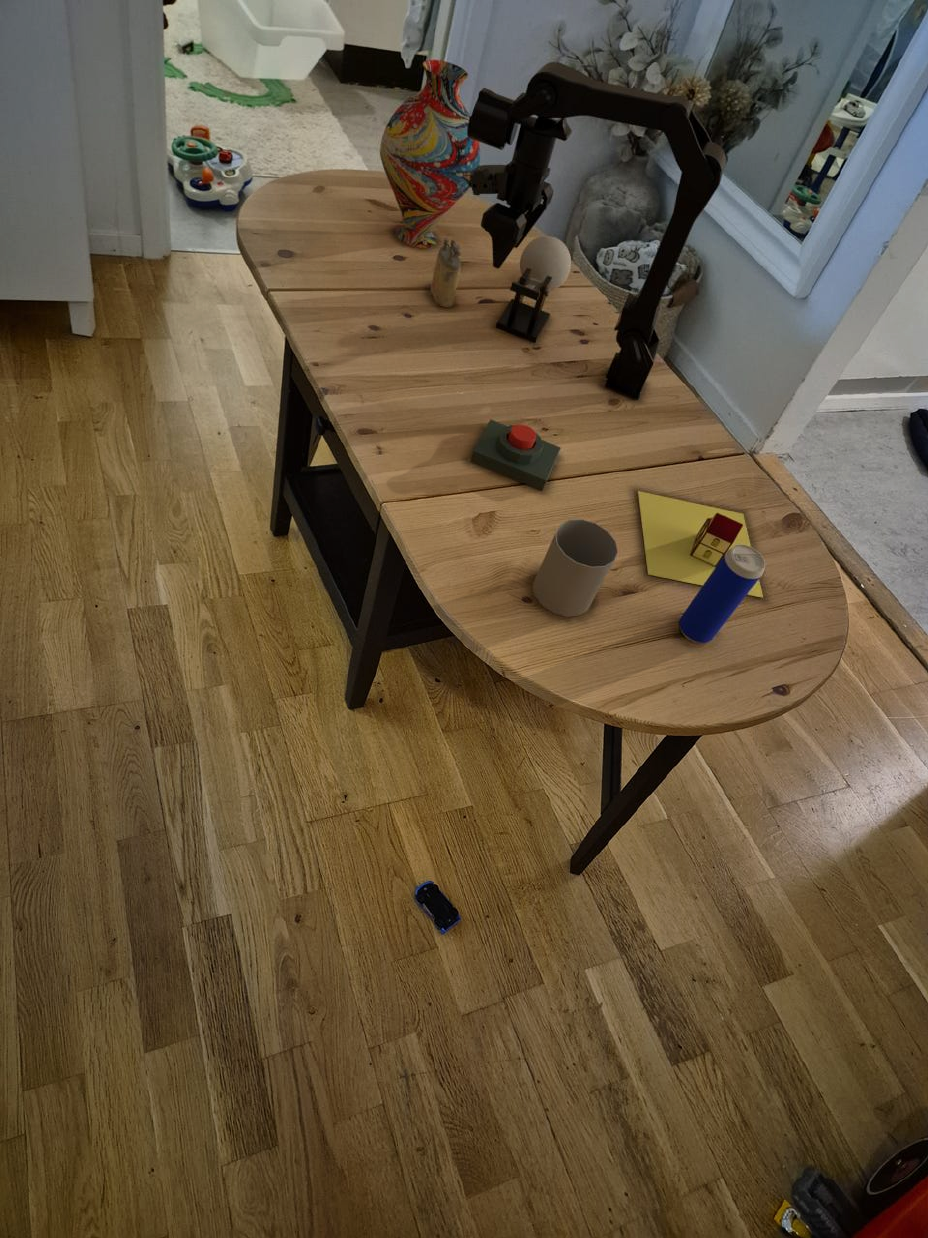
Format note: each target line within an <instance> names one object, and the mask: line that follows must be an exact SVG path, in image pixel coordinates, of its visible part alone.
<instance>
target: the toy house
mask: <svg viewBox="0 0 928 1238" xmlns="http://www.w3.org/2000/svg"><path fill="white" fill-rule="evenodd" d="M743 527H744V524H743V523H741V522H739V521H737V520H735V519H732V518H730V517H728V516H726V515H724V514H721V513H719V512H716V513H715V514H714V515H713V516H712V517H707V518H706V520H705V521H704V523H703V524H702V526H701V527H700V529H699V530H698V532H697V534H696V535H697V536H696V539H695V540H694V543H693V548H692V550H691V552H690V555H691V556H693V557H695V558H696V559H699V560H702V561H703V562H705V563H708V564H709V565H712V566H715V567H716V566H717V565H718V563H719V562H720V560H721V559H722V557H723V556H724V555H725V553H726V552H727V551H728V550H729V549H731V548H732V545H733V544H734V542H735V541H736V539H737V537H738V535H739V534H740V532H741V530H742V528H743Z"/></svg>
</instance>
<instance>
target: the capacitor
mask: <svg viewBox="0 0 928 1238" xmlns="http://www.w3.org/2000/svg"><path fill="white" fill-rule="evenodd" d="M449 241H450V244H449ZM461 254H462V253H461V246H460V244H457V241H456V240H455V239H452V240H449V238H447V237H446V238H444V240H443V246H440V247H439V250H438V253H437V256H436V261H435V265H434V269H433V270H434V271H433V275H432V280H431V285H430V287H429V290H430V292H431V294H430V296H431V298H433V299H434V302H435V303H436V305H438V306H441V307H444V308H450V307H452V306H453V305H454V301H455V297H456V293H457V289H458V283H459V280H460V279H459V278H460V275H461V271H462V269H461V267H462V261H461V259H460V256H461Z"/></svg>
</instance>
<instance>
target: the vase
mask: <svg viewBox="0 0 928 1238" xmlns="http://www.w3.org/2000/svg"><path fill="white" fill-rule="evenodd" d="M422 66H423V69H424V73H425V75H426V80H425V84H424V86H423V87H422V89H420V90H419V91H418V92H416V93H415V94H413V95H412V96H410V97H408V98H407V99H406V100H405V101H403V102H402V103H401V104H400V106H398V108H396V110H395V111H394V112H393V114H392V115H391V116H390V118H389V120H388V122H387V124H386V126H385V128H384V131H383V133H382V136H381V141H380V146H379V157H380V160H381V164H382V168H383V170H384V173H385V175H386V178H387V181H388V183H389V185H390V188H391V190H392V193H393V195H394V198H395V201H396V202H397V206H398V208H399V211H400V214H401V219H402V226H399V227H398V228H397V229H396V230H395V235H396V238H398V240H400V241H401V242H403V243H404V244H406V245H408V246H411V247H415V248H420V249H421V248H422V249H426V248H431V247H434V246H435V245H437V237H436V236H435V235H434V233H433V230H434V229H435V227H436V225H437V224H438V222H440V220H441V219H442V218H443V217H444V216H445V215H446V214H447V213H448V212H449V211H450V210H451V209H452V207H453V206H455V204H456V203H458V201H459V200H460V199H462V197H464V195H466V193H467V192H468V191H469V190H470V188H471V187H469V185H468V183H469V181H470V175H471V172H472V171H474V170H475V169H476V168H477V167H478V166H481V165H480V164H481V148H480V142H478V141H476V140H473V139H470V138H468V136H467V129H468V122H469V118H470V116H471V115H470V113H469V111H468V110H467V108H466V107H465V105H464V104H463V101H462V100H461V98H460V89H461V86H462V84H463V83H464V82H465V81H466V80H467V79H468V76H469V74H468V72H467V71H466V70H465V69H464V68H462V67H461V66H459V65H457V64H455V63H453V62H449V61H445V60H440V59H426V60H424V61H423V63H422Z"/></svg>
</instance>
